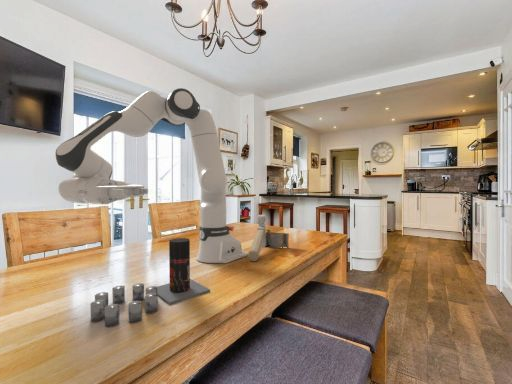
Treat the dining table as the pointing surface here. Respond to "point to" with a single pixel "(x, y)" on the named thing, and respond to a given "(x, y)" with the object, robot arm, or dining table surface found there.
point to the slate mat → (172, 297)
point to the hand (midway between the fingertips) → (136, 191)
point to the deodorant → (179, 264)
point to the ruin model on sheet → (277, 239)
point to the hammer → (258, 239)
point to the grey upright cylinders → (111, 312)
